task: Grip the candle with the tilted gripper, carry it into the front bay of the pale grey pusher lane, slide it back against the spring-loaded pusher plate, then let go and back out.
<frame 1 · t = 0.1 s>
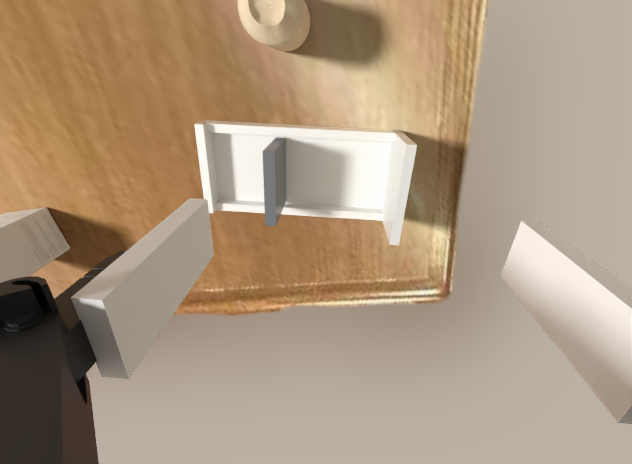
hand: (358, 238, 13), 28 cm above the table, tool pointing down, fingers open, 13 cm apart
pusher plate: (276, 179, 36), point 5 cm above the table, slide at 0.0 cm
supplement box: (40, 230, 48), on the table
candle: (285, 22, 34), on the table
pusher lane: (301, 169, 41), on the table
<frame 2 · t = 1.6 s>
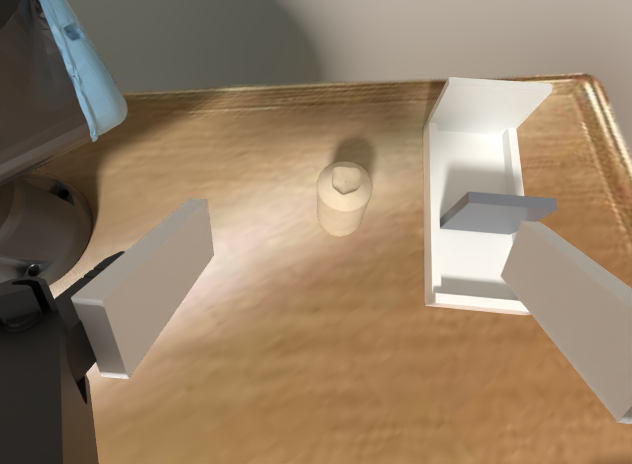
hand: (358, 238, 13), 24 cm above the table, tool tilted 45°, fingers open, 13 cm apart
pusher plate: (491, 215, 33), point 5 cm above the table, slide at 0.0 cm
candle: (339, 216, 39), on the table
pusher lane: (468, 212, 39), on the table
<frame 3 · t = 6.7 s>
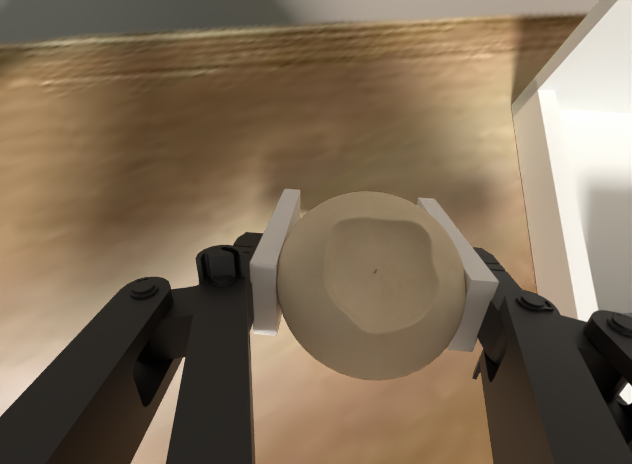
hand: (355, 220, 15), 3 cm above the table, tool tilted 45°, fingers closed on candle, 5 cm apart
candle: (346, 303, 17), on the table, touching gripper
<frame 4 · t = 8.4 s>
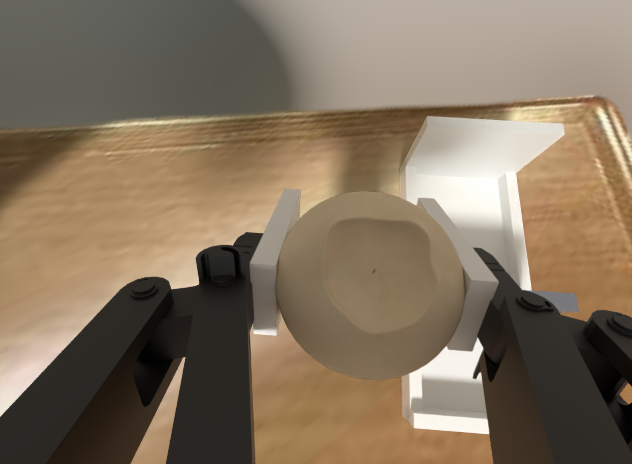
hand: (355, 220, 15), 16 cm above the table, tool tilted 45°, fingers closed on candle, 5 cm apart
pusher plate: (486, 302, 25), point 5 cm above the table, slide at 0.0 cm
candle: (345, 303, 17), point 13 cm above the table, touching gripper
pusher lane: (456, 282, 30), on the table
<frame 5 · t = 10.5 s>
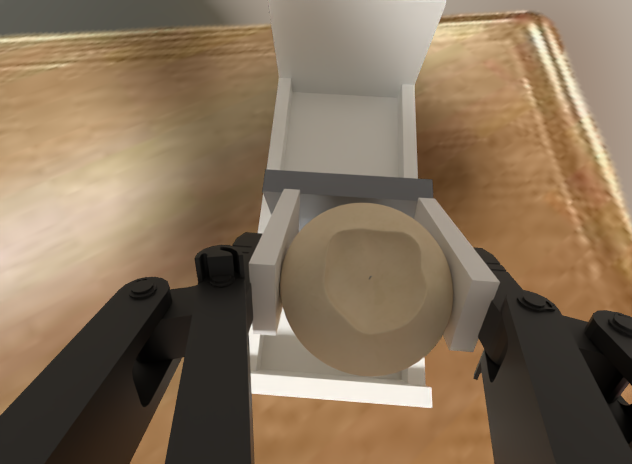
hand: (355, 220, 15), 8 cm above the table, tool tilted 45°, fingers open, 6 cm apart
pusher plate: (341, 214, 19), point 5 cm above the table, slide at 0.7 cm, touching gripper
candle: (344, 305, 18), point 4 cm above the table
pusher lane: (337, 218, 24), on the table
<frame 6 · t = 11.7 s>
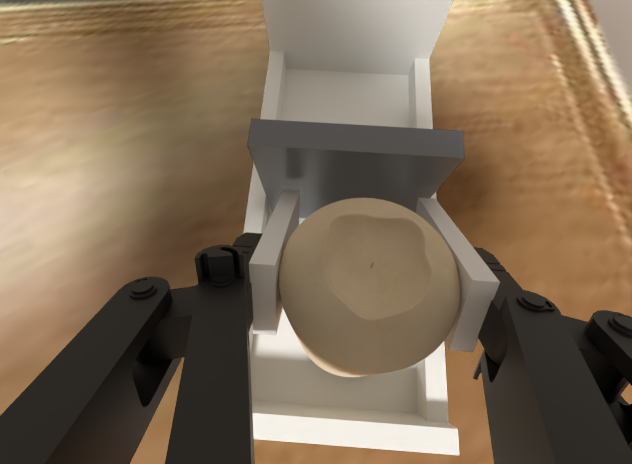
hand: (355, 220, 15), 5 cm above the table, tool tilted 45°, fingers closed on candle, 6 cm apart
pusher plate: (346, 183, 16), point 5 cm above the table, slide at 2.2 cm, touching gripper
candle: (346, 323, 17), point 1 cm above the table, touching gripper, pusher lane
pusher lane: (339, 216, 21), on the table
when the fingers open (5 cm above the table, at t = 12.4 s): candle stays where it is, resting on pusher lane.
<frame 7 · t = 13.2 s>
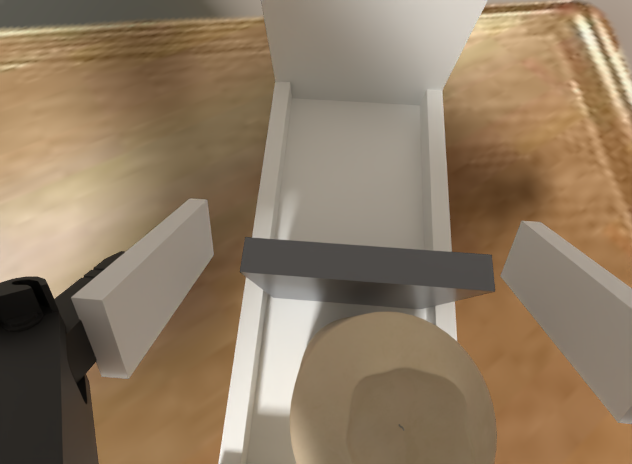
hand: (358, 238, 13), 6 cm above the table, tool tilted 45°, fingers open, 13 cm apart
pusher plate: (353, 281, 14), point 5 cm above the table, slide at 0.0 cm
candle: (352, 370, 17), point 1 cm above the table, touching pusher lane
pusher lane: (346, 256, 19), on the table
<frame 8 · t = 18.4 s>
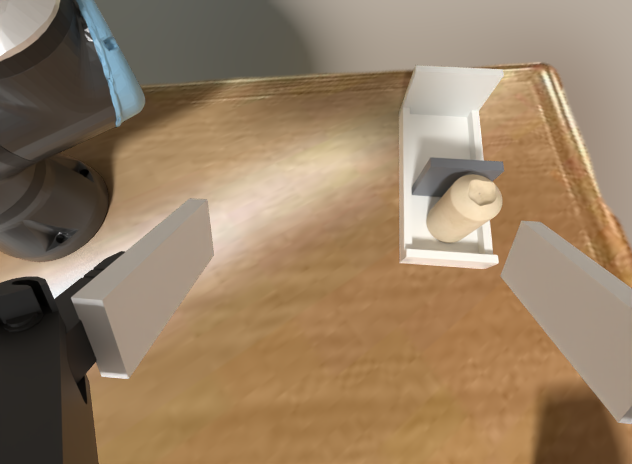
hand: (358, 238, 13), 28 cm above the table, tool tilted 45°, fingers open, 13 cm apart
pusher plate: (453, 179, 39), point 5 cm above the table, slide at 0.3 cm
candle: (445, 224, 42), point 1 cm above the table, touching pusher lane
pusher lane: (437, 183, 45), on the table
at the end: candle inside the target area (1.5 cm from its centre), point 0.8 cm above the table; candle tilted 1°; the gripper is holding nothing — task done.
